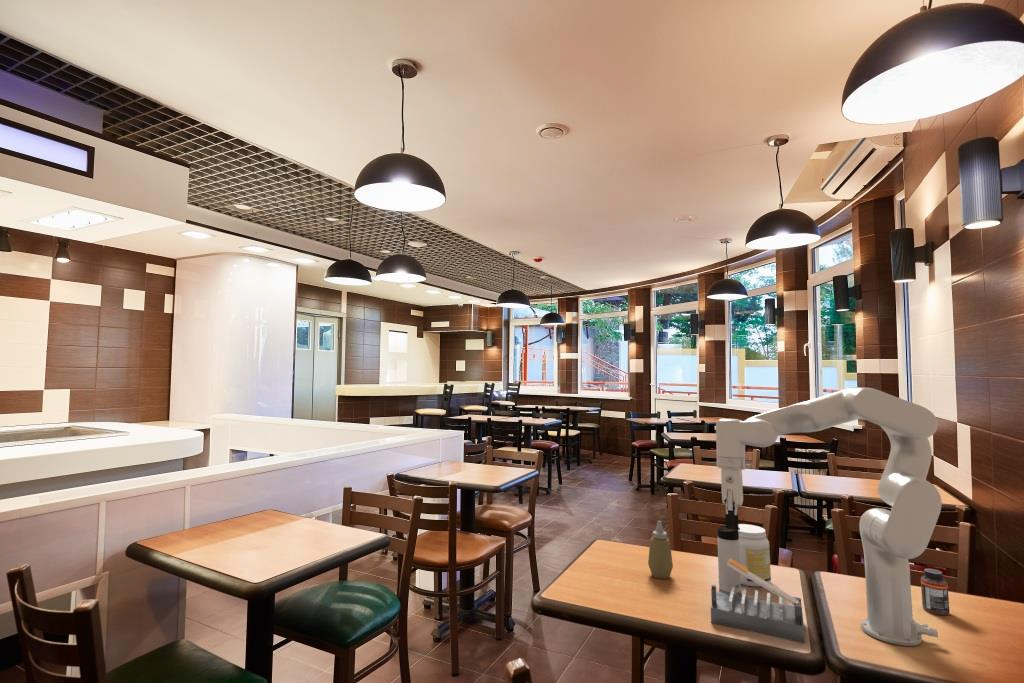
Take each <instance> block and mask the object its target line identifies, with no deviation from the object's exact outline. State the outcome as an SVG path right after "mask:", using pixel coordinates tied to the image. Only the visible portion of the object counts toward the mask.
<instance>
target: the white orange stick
mask: <svg viewBox="0 0 1024 683" xmlns="http://www.w3.org/2000/svg"><path fill="white" fill-rule="evenodd" d="M727 566H729V567H730V568H732V569H734V570H735V571H737V572H739V573H740V574H742V575H744V576H745V577H747V578H749V579H751V580H752V581H754V582H756V583H757V584H759V585H761V586H762V588H763V589H766V591H769V592H770V593H772V594H774V595H776V596H777V597H778V598H779V597H781V598H782V599H783V600H784V601H786V602H787V603H789V604H791V606H795V604H796V605H801V606H802V603H801V604H800V600H798V599H797V600H796V599H795V598H794V596H791V595H790V594H788V593H786V592H785V591H783V590H781V589H780V588H778V587H776V586H774V585H773V584H771V582H770V583H768V582H766V581H765V580H763V579H761V578H759V577H758V576H756V575H754V574H753V573H751V572H749V571H748V568H747V567H745V566H743V565H742V564H740V563H738V562H736V561H735V560H733V559H731V558H730V559H729V561H728V563H727Z"/></svg>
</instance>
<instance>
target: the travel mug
mask: <svg viewBox="0 0 1024 683" xmlns="http://www.w3.org/2000/svg"><path fill="white" fill-rule="evenodd" d="M738 530H740V528H739V527H738ZM738 530H733V529H727V528H726V525H722V526H719V527H717V530H716V532H717V565H718V566H717V567H718V568H717V569H718V592H722V593H727V594H730V593H731V589H732V586H734V587H735V595H738V596H741V594H742V590H741V589H742V588H741V587H742V586H741V585H742V584H741V581H740V573H739V572H737V571H735V570H734V569H732V568H730V567H729V566H727V563H728V561H729V559H730V558H731V559H733V560H735V561H736V562H738V563H740V552H739V533H738Z"/></svg>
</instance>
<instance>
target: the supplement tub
mask: <svg viewBox="0 0 1024 683" xmlns="http://www.w3.org/2000/svg"><path fill="white" fill-rule="evenodd" d="M738 527H739V528H740V530H738V533H739V552H740V564H742V565H743V566H745V567H747V568H748V571H749V572H751V573H753V574H754V575H756V576H758V577H759V578H761V579H763V580H765V581H766V582H768V583H770V584H771V581H772V575H771V574H772V573H771V556H770V554H771V553H770V541H769V540H768V538H767V534H766V529H765V528H763V527H762V526H758V525H754V524H747V523H738ZM740 581H741V585H744V586H746V587H747V586H748V587H755V588H759V587H760V588H761V587H762V586H761V585H759V584H757V583H756V582H754V581H752V580H751V579H749V578H747V577H745V576H744V575H742V574H740ZM762 588H763V587H762Z"/></svg>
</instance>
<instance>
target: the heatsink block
mask: <svg viewBox="0 0 1024 683" xmlns="http://www.w3.org/2000/svg"><path fill="white" fill-rule="evenodd" d="M747 590H748V589H747V588H744V587H743V589H742V593H741V594H742V595H739V596H738V595H735V587H734V586H732V589H731V593H730V594H727V593H722V592H720V591H717V585H716V584H711V592H710V593H711V595H710V596H711V606H710V623H711V624H715V625H719V626H725V627H728V628H732V629H736V630H737V629H738V630H742V631H746V632H752V633H756V634H761V635H766V636H771V637H774V638H779V639H784V640H788V641H794V642H798V643H802V644H805V643H806V642H805V625H804V614H803V606H802V598H801V597H796V596H793V598H795V599H796V600H797V599H798V600H800V604H801V605H796V604H795V606H794V605H792V604H791V605H790V604H785V603H783V602H784V601H783V600H784V599H782V598H781V597H779V596H778V602H774V601H772V600H771V592H767V593H766V600H763V599H759V590H754V598H753V597H748V594H747V593H748V591H747Z"/></svg>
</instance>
